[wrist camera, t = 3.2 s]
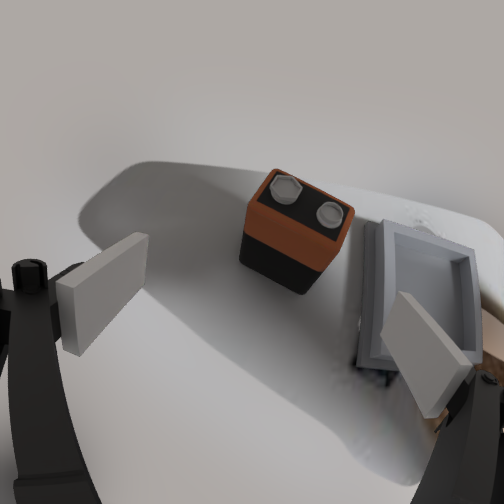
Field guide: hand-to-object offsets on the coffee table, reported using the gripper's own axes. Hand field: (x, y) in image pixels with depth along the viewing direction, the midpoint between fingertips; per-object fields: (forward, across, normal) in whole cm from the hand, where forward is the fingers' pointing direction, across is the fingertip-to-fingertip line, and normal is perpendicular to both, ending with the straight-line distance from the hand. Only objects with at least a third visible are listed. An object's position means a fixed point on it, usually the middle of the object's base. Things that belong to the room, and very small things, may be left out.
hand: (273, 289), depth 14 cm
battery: (+13, +2, -3) cm, 14 cm away
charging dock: (+12, +18, -4) cm, 22 cm away
